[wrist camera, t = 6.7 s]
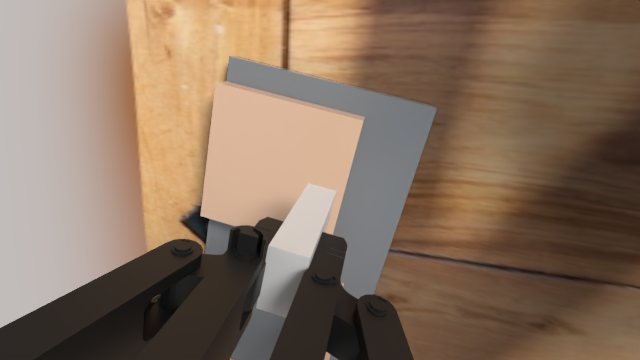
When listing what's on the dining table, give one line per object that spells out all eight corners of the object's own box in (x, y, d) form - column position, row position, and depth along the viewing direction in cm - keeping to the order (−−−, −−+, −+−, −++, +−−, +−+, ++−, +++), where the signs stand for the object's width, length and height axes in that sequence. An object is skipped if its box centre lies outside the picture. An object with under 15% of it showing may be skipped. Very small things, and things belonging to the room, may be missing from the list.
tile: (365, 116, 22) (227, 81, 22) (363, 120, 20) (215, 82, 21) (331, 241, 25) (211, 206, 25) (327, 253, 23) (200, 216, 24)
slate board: (237, 56, 23) (229, 56, 22) (434, 105, 22) (437, 108, 21) (200, 335, 31) (193, 345, 30) (341, 382, 30) (339, 394, 29)
